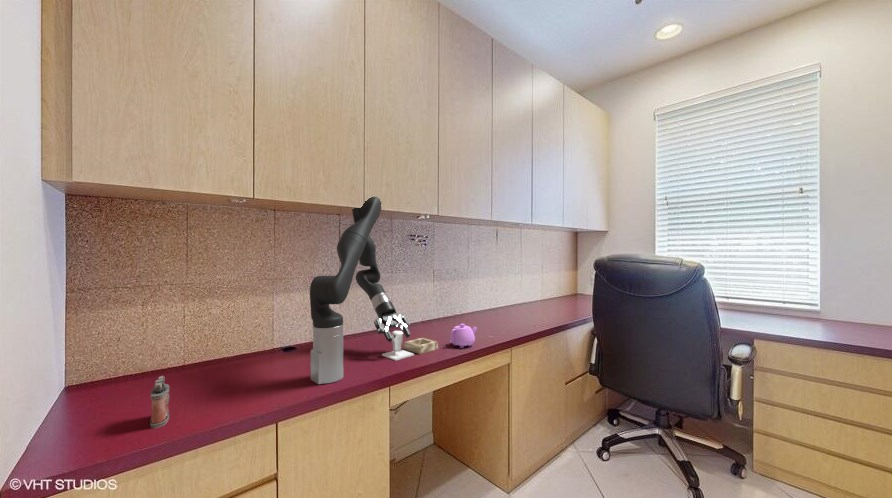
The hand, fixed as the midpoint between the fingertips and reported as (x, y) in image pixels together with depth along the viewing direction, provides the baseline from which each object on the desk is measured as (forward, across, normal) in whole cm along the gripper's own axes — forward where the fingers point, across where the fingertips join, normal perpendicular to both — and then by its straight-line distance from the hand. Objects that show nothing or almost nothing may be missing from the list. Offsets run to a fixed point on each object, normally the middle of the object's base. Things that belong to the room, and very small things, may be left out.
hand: (400, 338), depth 129 cm
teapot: (+10, +29, 0) cm, 31 cm away
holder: (+4, +12, +6) cm, 14 cm away
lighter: (+3, -71, +7) cm, 71 cm away
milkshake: (+3, 0, +6) cm, 7 cm away
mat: (+4, 0, +6) cm, 7 cm away
